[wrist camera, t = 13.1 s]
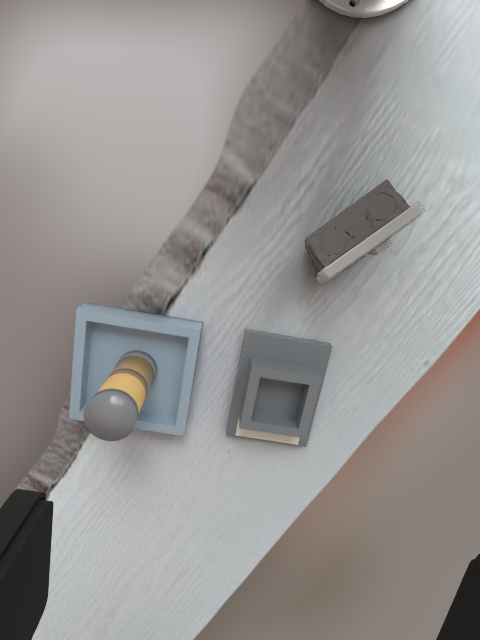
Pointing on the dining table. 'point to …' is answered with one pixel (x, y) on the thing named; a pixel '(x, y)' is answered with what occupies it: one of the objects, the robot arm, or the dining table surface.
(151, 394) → the tray
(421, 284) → the dining table surface
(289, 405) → the grey square socket holder
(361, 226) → the electrical switch
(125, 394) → the fuse
